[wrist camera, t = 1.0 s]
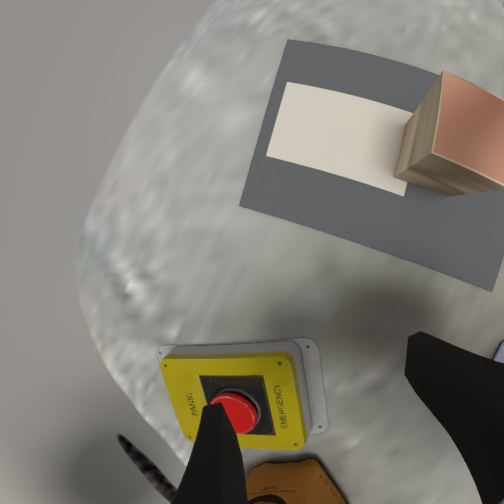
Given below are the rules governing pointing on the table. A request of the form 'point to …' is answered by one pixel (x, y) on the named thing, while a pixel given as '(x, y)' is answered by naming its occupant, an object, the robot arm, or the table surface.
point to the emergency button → (249, 389)
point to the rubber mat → (364, 164)
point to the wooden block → (454, 140)
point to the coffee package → (291, 484)
